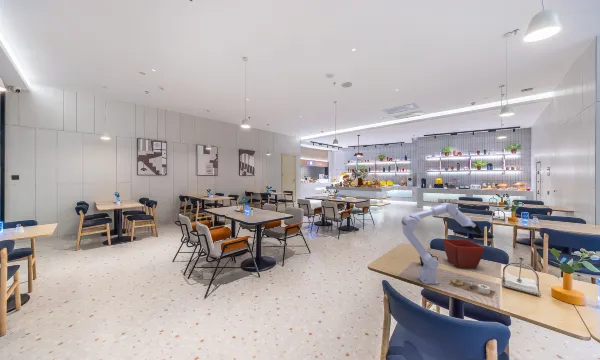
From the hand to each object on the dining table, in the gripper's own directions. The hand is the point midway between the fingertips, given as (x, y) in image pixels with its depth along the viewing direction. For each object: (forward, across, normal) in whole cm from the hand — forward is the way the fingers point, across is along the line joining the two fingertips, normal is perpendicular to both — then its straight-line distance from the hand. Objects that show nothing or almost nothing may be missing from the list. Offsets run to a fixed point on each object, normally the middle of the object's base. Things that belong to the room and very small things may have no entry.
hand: (476, 231), depth 147 cm
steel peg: (+14, -10, +29) cm, 34 cm away
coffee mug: (+8, +24, +36) cm, 44 cm away
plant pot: (+28, +28, +18) cm, 44 cm away
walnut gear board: (+15, -10, +30) cm, 35 cm away
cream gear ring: (+17, -14, +26) cm, 34 cm away
